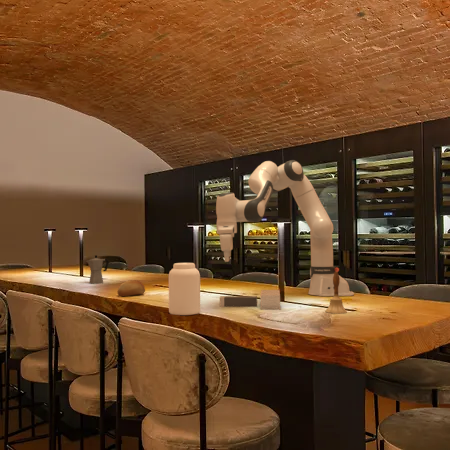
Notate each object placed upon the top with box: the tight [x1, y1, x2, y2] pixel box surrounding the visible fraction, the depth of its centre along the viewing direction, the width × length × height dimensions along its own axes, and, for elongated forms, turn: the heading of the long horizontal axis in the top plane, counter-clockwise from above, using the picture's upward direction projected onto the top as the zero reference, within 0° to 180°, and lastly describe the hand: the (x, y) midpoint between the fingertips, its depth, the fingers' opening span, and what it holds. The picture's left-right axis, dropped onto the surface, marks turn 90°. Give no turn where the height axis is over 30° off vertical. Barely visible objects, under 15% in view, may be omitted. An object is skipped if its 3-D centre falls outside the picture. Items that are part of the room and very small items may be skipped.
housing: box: [260, 289, 281, 311], centre depth 224 cm, size 8×20×6 cm, turn 175°
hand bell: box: [325, 271, 348, 315], centre depth 205 cm, size 8×8×16 cm
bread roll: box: [117, 279, 146, 298], centre depth 266 cm, size 10×15×8 cm, turn 127°
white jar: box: [168, 262, 201, 316], centre depth 207 cm, size 12×12×20 cm
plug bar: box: [219, 295, 258, 308], centre depth 225 cm, size 16×4×4 cm, turn 85°
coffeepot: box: [85, 255, 110, 285], centre depth 336 cm, size 15×9×18 cm, turn 125°
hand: (227, 261), depth 227 cm, fingers open, 8 cm apart
